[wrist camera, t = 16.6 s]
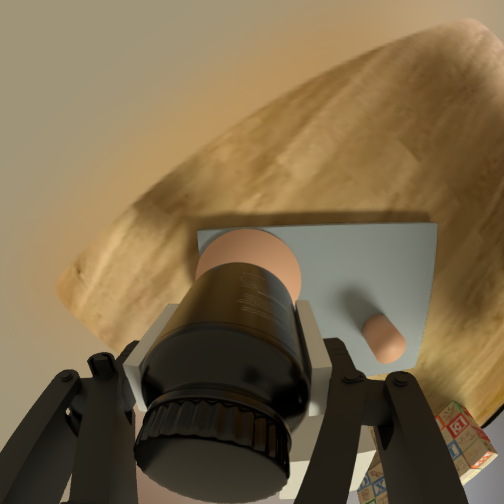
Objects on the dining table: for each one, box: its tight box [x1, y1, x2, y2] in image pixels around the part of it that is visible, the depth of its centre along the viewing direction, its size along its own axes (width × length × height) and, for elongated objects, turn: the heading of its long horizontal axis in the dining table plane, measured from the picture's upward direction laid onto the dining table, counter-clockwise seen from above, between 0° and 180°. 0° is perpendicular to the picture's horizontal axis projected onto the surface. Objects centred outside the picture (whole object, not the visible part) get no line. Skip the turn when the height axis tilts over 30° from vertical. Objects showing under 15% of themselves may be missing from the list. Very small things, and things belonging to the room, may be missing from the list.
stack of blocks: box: [357, 401, 498, 504], centre depth 25 cm, size 21×6×12 cm, turn 145°
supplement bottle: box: [133, 262, 311, 504], centre depth 12 cm, size 7×7×12 cm
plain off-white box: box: [279, 412, 376, 499], centre depth 25 cm, size 9×9×9 cm
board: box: [195, 222, 438, 376], centre depth 23 cm, size 22×16×5 cm
